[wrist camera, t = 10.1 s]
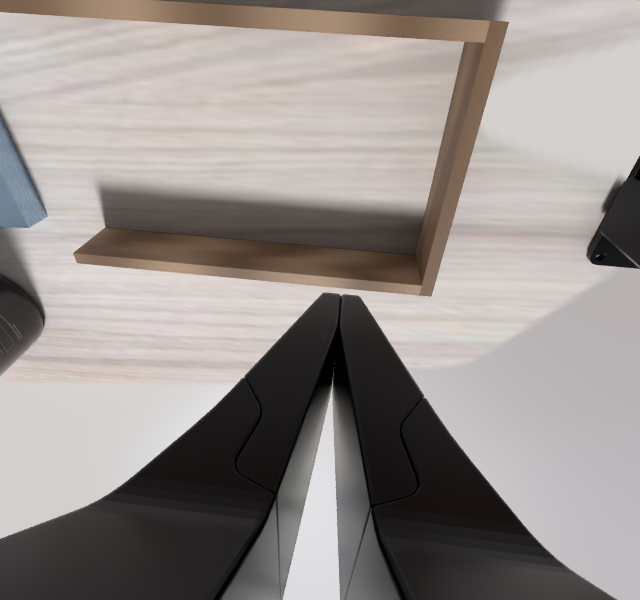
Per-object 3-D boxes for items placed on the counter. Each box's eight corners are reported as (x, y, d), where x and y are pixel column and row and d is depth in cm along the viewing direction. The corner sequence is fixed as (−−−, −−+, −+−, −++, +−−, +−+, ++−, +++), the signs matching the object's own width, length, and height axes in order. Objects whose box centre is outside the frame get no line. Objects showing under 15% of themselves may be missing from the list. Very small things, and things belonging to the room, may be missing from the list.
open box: (485, 21, 15) (509, 21, 12) (423, 265, 21) (431, 296, 19) (29, -7, 16) (-32, -12, 13) (107, 236, 22) (77, 263, 20)
